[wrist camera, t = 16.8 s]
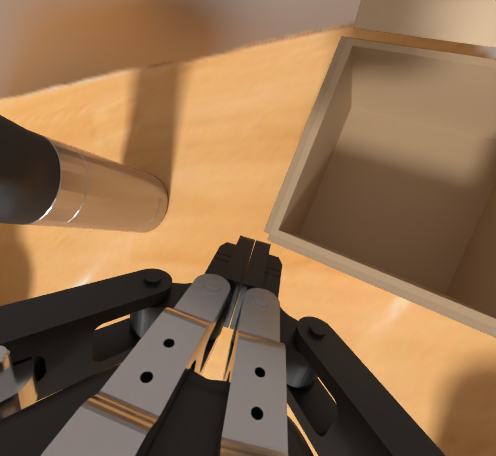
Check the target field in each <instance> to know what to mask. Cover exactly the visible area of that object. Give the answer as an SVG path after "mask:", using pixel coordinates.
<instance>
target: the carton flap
mask: <svg viewBox="0 0 496 456" xmlns="http://www.w3.org/2000/svg"><path fill="white" fill-rule="evenodd" d="M354 28H358V29H365V30H372V31H379V32H387V33H394V34H401V35H408V36H416V37H423V38H430V39H437V40H445V41H452V42H459V43H466V44H474V45H481V46H489V47H495V48H496V0H361V2H360V6H359V10H358V13H357V17H356V21H355V25H354Z"/></svg>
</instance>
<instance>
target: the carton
mask: <svg viewBox="0 0 496 456" xmlns="http://www.w3.org/2000/svg"><path fill="white" fill-rule="evenodd" d="M264 232H267V233H269V237H268V239H267V240H269V241H271V242H273V243H276V244H278V245H280V246H283V247H285V248H287V249H290V250H292V251H294V252H297V253H299V254H301V255H304V256H306V257H308V258H311V259H313V260H315V261H318V262H320V263H322V264H325V265H327V266H329V267H332V268H334V269H336V270H339V271H341V272H343V273H346V274H348V275H350V276H353V277H355V278H357V279H360V280H362V281H364V282H367V283H369V284H371V285H374V286H376V287H378V288H381V289H383V290H385V291H388V292H390V293H392V294H395V295H397V296H399V297H402V298H404V299H406V300H409V301H411V302H413V303H416V304H418V305H420V306H423V307H425V308H427V309H430V310H432V311H434V312H437V313H439V314H441V315H444V316H446V317H448V318H451V319H453V320H455V321H458V322H460V323H463V324H465V325H467V326H470V327H472V328H474V329H477V330H479V331H481V332H484V333H486V334H488V335H491V336H493V337H495V338H496V59H489V58H482V57H476V56H469V55H462V54H456V53H449V52H442V51H436V50H429V49H422V48H416V47H409V46H402V45H396V44H389V43H382V42H376V41H369V40H362V39H356V38H349V37H342V36H341V39H340V41H339V44H338V47H337V49H336V52H335V54H334V57H333V59H332V62H331V64H330V67H329V69H328V72H327V74H326V77H325V79H324V82H323V84H322V87H321V89H320V92H319V94H318V97H317V99H316V102H315V104H314V107H313V109H312V112H311V114H310V117H309V119H308V122H307V124H306V127H305V129H304V132H303V134H302V137H301V139H300V142H299V144H298V147H297V149H296V152H295V154H294V157H293V159H292V162H291V164H290V167H289V169H288V172H287V174H286V177H285V179H284V182H283V184H282V187H281V189H280V192H279V194H278V197H277V199H276V202H275V204H274V207H273V209H272V212H271V214H270V217H269V219H268V222H267V224H266V227H265V229H264Z"/></svg>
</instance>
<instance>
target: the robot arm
mask: <svg viewBox="0 0 496 456" xmlns="http://www.w3.org/2000/svg"><path fill="white" fill-rule="evenodd" d="M167 205H168V197H167V192H166V189H165V187H164V185H163V183H162V182H161V181H160V180H159V179H158V178H156V177H155V176H152V175H149V174H147V173H144V172H141V171H139V170H136V169H134V168H131V167H128V166H125V165H122V164H120V163H117V162H114V161H111V160H109V159H106V158H103V157H100V156H98V155H95V154H92V153H89V152H87V151H84V150H81V149H78V148H76V147H73V146H70V145H67V144H64V143H61V142H59V141H56V140H53V139H50V138H48V137H45V136H42V135H39V134H37V133H34V132H31V131H29V130H27V129H25V128H23V127H21V126H19V125H17V124H16V123H14V122H12V121H10V120H8V119H6V118H5V117H3V116H1V115H0V223H7V224H22V225H24V224H25V225H39V226H54V227H55V226H56V227H70V228H84V229H98V230H112V231H126V232H148V231H151V230H152V229H154V228H156V227H157V226H158V225H159V224H160V222H161V221H162V220H163V218H164V216H165V214H166V210H167ZM254 242H255V240H254V239H250V238H247V237H243V236H240V238H239V240H238V242H237V244H236V245H235V244H231V243H228V242H227V243H225V244H223V245H221V246H220V247H219V249H218V251H217V253H216V254H215V256H214V258H213V260H212V261H211V263H210V265H209V267H208V269H207V270H206V272H205V274H203V275H200V276H198V277H197V278H196V279H195V280H194V282H193V283H188V284H181V283H172V278H171V276H170V275H169V274H168V273H167V272H165V271H162V270H159V269H145V270H140V271H137V272H133V273H129V274H125V275H121V276H117V277H113V278H109V279H105V280H101V281H98V282H94V283H90V284H86V285H82V286H78V287H74V288H70V289H66V290H62V291H58V292H55V293H51V294H47V295H43V296H39V297H35V298H31V299H27V300H23V301H19V302H15V303H12V304H8V305H4V306H0V456H314V455H313V453H312V451H311V450H310V448H309V446H308V444H307V442H306V440H305V439H304V437H303V435H302V433H301V432H300V430H299V429H298V428H297V426H296V425H295V423H294V422H293V421H292V420H291V419H290V418H289V417H288V416H287V403H288V405H289V407H290V408H291V410H292V412H293V413H294V415H295V417H296V418H297V420H298V422H299V424H300V425H301V427H302V429H303V430H304V432H305V434H306V435H307V437H308V439H309V441H310V442H311V444H312V446H313V447H314V449H315V451H316V452H317V454H318V456H445V455H444V454H443V452H442V451H441V450H440V449H439V448H438V447H437V446H436V445H435V443H434V442H433V441H432V440H431V439H430V438H429V437H428V436H427V434H426V433H425V432H424V431H423V430H422V429H421V428H420V427H419V426H418V424H417V423H416V422H415V421H414V420H413V419H412V418H411V417H410V415H409V414H408V413H407V412H406V411H405V410H404V409H403V408H402V406H401V405H400V404H399V403H398V402H397V401H396V400H395V399H394V397H393V396H392V395H391V394H390V393H389V392H388V391H387V390H386V389H385V387H384V386H383V385H382V384H381V383H380V382H379V381H378V380H377V378H376V377H375V376H374V375H373V374H372V373H371V372H370V371H369V369H368V368H367V367H366V366H365V365H364V364H363V363H362V362H361V360H360V359H359V358H358V357H357V356H356V355H355V354H354V353H353V352H352V350H351V349H350V348H349V347H348V346H347V345H346V344H345V343H344V341H343V340H342V339H341V338H340V337H339V336H338V335H337V334H336V332H335V331H334V330H333V329H332V328H331V327H330V326H329V325H328V324H327V323H325V322H324V321H322V320H320V319H318V318H315V317H303V318H301V319H300V320H299V321H297V320H296V319H294V318H292V317H291V316H289V315H288V314H286V313H285V312H284V311H283V310H282V309H281V307H280V302H279V300H278V294H279V286H280V277H281V270H282V263H281V261H280V259H279V257H275V256H272V255H269V250H270V245H271V244H267V243H264V242H261V241H257V240H256V242H255V245H254ZM253 245H254V249H253ZM252 249H253V252H252ZM251 253H252V255H251ZM250 256H251V258H250ZM249 260H250V261H249ZM248 263H249V264H248ZM238 296H239V297H238ZM237 299H238V300H237ZM236 302H237V304H236ZM235 305H236V307H235ZM234 308H235V311H234ZM233 311H234V315H233V318H232V322H231V325H230V328H231V329H234V332H233V335H232V339H231V342H230V346H229V350H228V355H227V360H226V366H225V371H224V376H223V381H218V380H209V379H206V378H204V377H203V376H201V375H202V373H203V371H204V368H205V366H206V364H207V362H208V360H209V357H210V355H211V353H212V351H213V349H214V347H215V344H216V342H217V339H218V336H219V335H220V333H221V330H222V328H223V326H224V327H227V328H228V326H229V323H230V320H231V317H232V314H233ZM129 314H130V318H128V319H125V320H122V321H120V322H117V323H114V324H111V325H109V326H106V327H103V328H100V329H97V330H95V329H96V328H97V327H98V326H100V325H101V324H103V323H106V322H109V321H112V320H115V319H117V318H120V317H123V316H126V315H129ZM94 330H95V331H94ZM121 362H122V364H119V363H121ZM117 364H118V365H117ZM318 377H319V378H320V380H321V381H322V383H323V384H324V385H325V387H326V388H327V389H328V391H329V392H330V394H331V395H332V396H333V398H334V399H335V401H336V403H335V402H334V400H333V399H332V397H331V396H330V395H329V393H328V392H327V390H326V389H325V388H324V386H323V385H322V384H321V382H320V381H319V379H318ZM64 388H65V389H64ZM62 389H63V390H62ZM60 390H61V391H60ZM58 391H59V392H58ZM53 393H54V394H53ZM51 394H52V395H51ZM49 395H50V396H49ZM47 396H48V397H47ZM45 397H46V398H45ZM42 398H44V399H42ZM40 399H42V400H40ZM38 400H40V401H38ZM36 401H38V402H36ZM35 402H36V403H35Z"/></svg>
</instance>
